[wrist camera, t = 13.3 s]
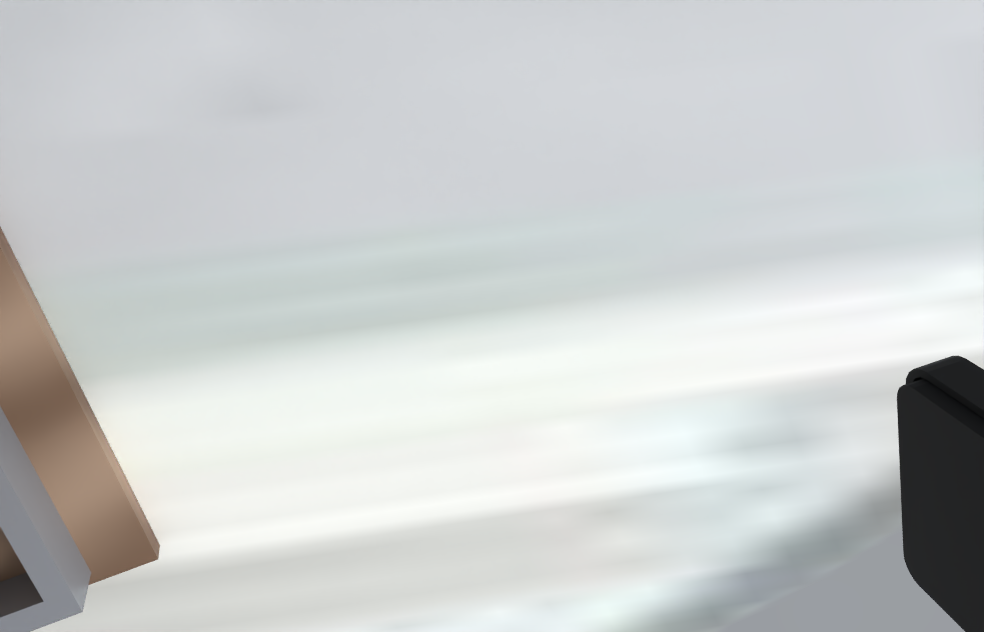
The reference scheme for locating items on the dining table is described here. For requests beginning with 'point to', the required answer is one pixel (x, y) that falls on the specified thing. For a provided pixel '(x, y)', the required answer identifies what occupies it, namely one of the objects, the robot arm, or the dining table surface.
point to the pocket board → (54, 475)
